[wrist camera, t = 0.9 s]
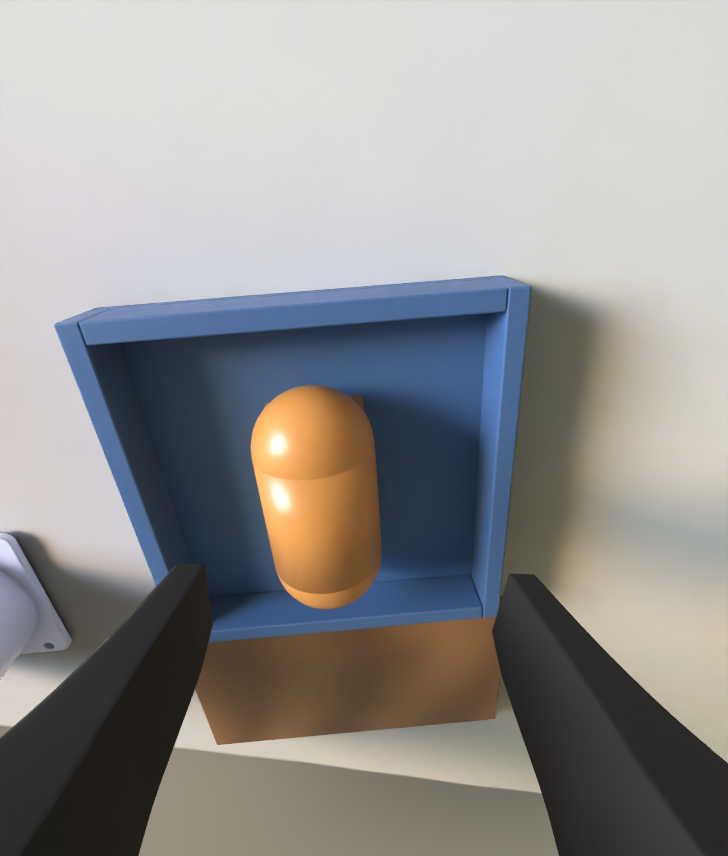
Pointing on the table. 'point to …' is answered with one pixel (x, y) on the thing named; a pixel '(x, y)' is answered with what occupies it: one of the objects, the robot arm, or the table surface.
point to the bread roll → (319, 494)
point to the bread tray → (332, 367)
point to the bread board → (350, 680)
